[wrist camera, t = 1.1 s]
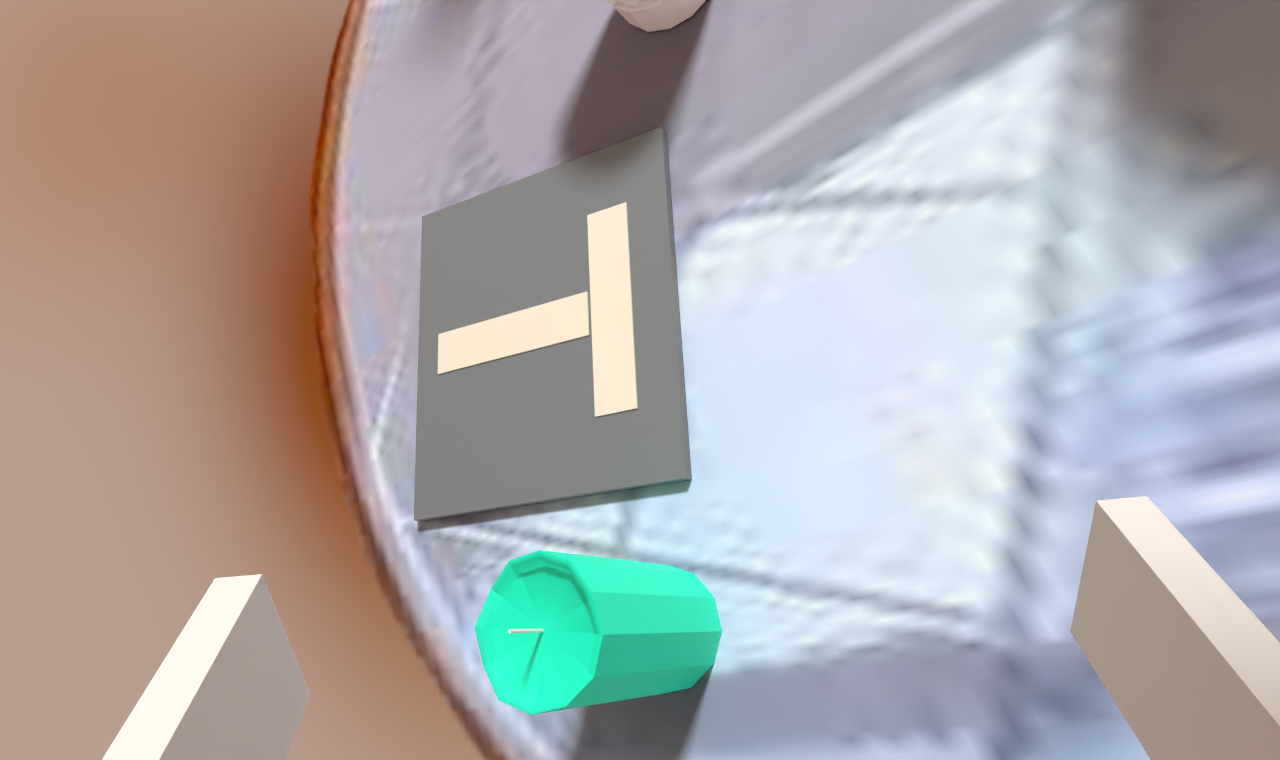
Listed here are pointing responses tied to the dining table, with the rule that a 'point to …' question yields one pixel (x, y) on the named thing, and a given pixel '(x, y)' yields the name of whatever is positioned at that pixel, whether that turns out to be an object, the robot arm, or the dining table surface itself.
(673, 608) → the candle
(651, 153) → the letter pad
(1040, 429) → the dining table surface
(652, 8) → the white cup
